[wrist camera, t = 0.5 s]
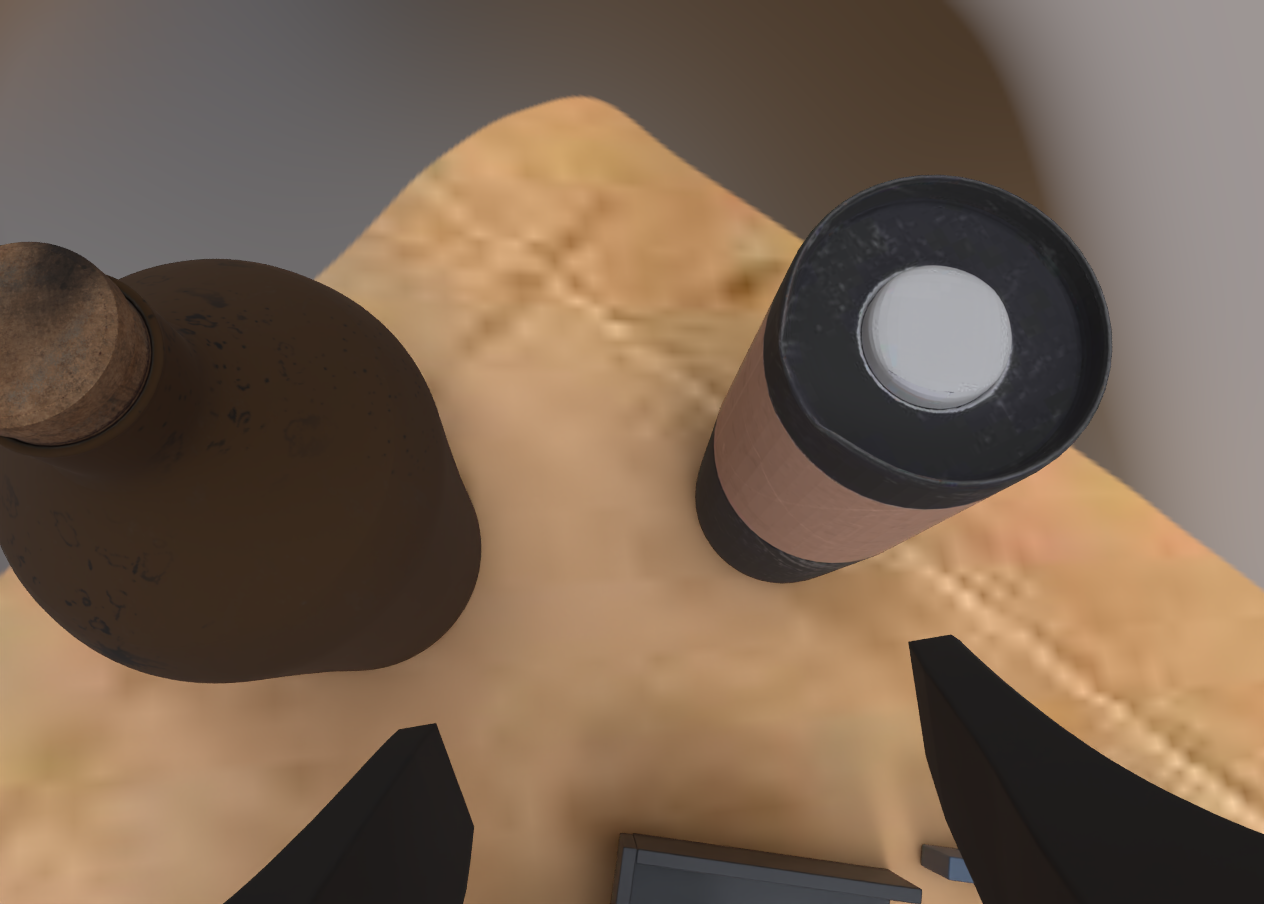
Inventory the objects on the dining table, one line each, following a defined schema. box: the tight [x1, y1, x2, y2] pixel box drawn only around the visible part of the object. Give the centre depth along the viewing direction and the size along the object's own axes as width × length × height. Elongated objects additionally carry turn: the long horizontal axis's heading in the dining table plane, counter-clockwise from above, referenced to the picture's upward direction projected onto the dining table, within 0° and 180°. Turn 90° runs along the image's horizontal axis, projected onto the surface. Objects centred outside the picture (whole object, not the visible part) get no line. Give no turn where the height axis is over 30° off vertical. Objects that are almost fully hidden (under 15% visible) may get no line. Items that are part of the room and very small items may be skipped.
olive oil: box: [0, 242, 481, 683], centre depth 27 cm, size 11×11×25 cm
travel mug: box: [695, 175, 1112, 583], centre depth 31 cm, size 8×8×20 cm
